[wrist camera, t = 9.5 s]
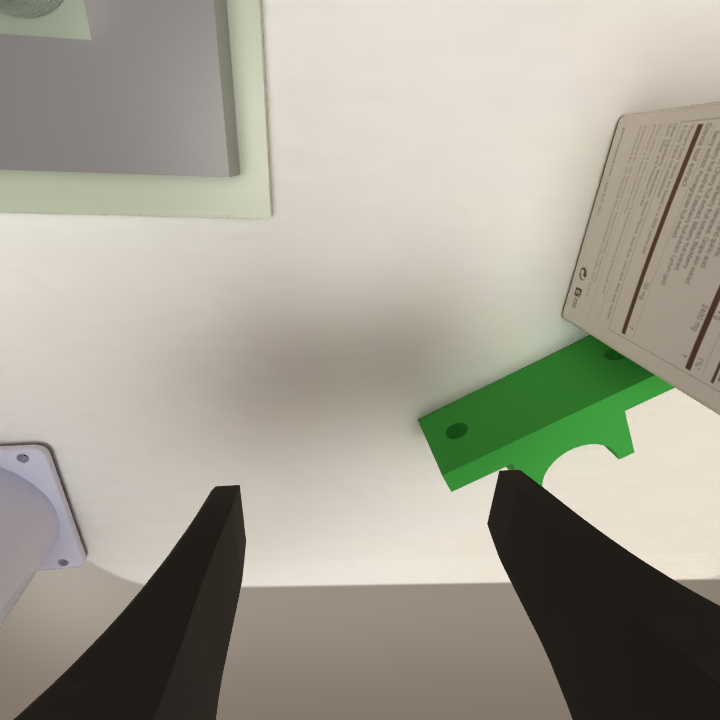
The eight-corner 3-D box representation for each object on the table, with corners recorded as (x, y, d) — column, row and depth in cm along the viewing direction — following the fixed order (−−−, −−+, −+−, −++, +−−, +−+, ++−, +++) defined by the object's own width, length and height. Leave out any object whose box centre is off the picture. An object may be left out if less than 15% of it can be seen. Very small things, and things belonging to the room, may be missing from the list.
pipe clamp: (442, 464, 24) (470, 527, 20) (416, 416, 22) (441, 475, 18) (629, 376, 23) (700, 425, 19) (616, 320, 21) (691, 360, 17)
